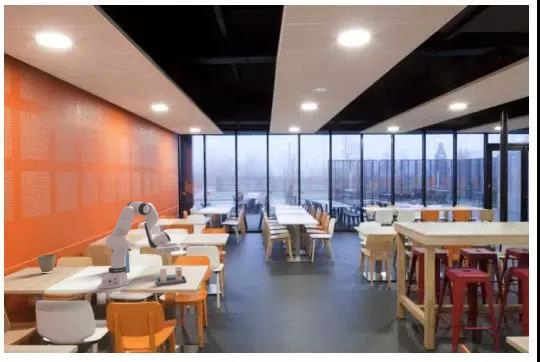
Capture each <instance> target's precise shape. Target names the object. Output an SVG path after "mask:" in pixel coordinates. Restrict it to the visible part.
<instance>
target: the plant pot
mask: <svg viewBox="0 0 540 362" xmlns="http://www.w3.org/2000/svg"><path fill="white" fill-rule="evenodd" d="M56 257H57V255H56V254H55V253H53V254H52V253H51V254H50V253H49V254H48V253H47V254H43V255H42V254H41V255H38V256H37V263H38V265H39V266H38V267H40V268H39V269H40V271H41V273H42V272H49V271H52V272H53V270H54V267H55V263H56V259H57V258H56Z"/></svg>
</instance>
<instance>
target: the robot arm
mask: <svg viewBox="0 0 540 362" xmlns="http://www.w3.org/2000/svg"><path fill="white" fill-rule="evenodd" d="M137 215H138V216H144V218H145V222H144V225H143V226H144V230H145V233H146V237H147V242H148V243H147V244H148V246H149V247H150V248H152V249H155V252H156V253H164V254H170V253H172V252H179V251H181V245H179V244H178V243H172V242H171V241H172V240H171V237H170V235H169V234H168V232H166V231H162V232H160V233H158V234H156V235H154V236H152V231H151V230H152V229H153V227H154V226H155V225H156V224H158V221H159V219H160V216H159V213H158V211H157V209H156V208H155V206H154V204H152V203H151V202H142V201H130V202H128V204H127V205H126V206H124V207H123V208H122V210H121V212H120V214H119V217H118V219H117V222H116V224H115V227H114V229H113V230H112V232H111V233H110V234H109V235H108V236H107V237H106V239H105V242H104V243H105V246H106V247H108V248H109V249H114V253H113V256H112V255H111V258H110V263H111V264H110V266H109V267H107V270H108V273H107V274H106V275H105V276H103V277H102V279H101V282H100V284H98V287H99V288H98V287H97V288H98V289H100V290H101V289H102V290H103V289H113V288H122V287H123V286H126V285H129V284H130V282H129V278H128V274H127V273H128V272H127V266H126V253H127V249H128V248H129V249H130V246H131V240H130V238H128V237H126V235H127V233H128V232H130V230H131V227H132V225H133V222H134V217H135V216H137Z"/></svg>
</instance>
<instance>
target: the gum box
mask: <svg viewBox="0 0 540 362" xmlns="http://www.w3.org/2000/svg"><path fill="white" fill-rule="evenodd" d="M110 249H111V248H110ZM129 249H130V247H129V248H128V249H127V253H126V266H127V273H129V272H130V271H131V268H130V251H129ZM110 251H111V257H112V256H113V253H114V249H111V250H110Z"/></svg>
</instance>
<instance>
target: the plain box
mask: <svg viewBox="0 0 540 362" xmlns="http://www.w3.org/2000/svg"><path fill="white" fill-rule="evenodd" d="M166 275H167V267H166V266H164V267H159V276H160V283H163V282H167V277H166Z"/></svg>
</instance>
